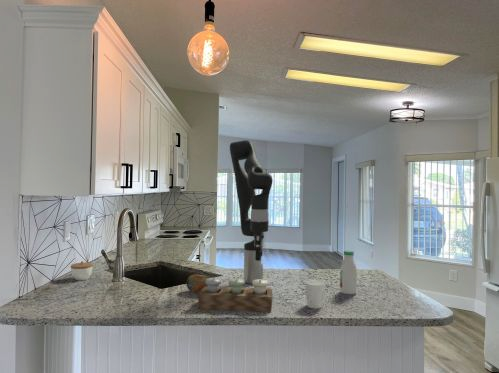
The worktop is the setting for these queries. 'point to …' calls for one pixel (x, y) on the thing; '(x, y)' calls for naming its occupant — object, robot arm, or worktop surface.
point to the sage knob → (236, 285)
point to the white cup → (315, 293)
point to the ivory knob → (260, 286)
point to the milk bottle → (348, 274)
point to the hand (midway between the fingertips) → (259, 258)
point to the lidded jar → (81, 270)
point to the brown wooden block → (235, 300)
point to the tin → (196, 283)
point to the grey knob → (213, 285)
